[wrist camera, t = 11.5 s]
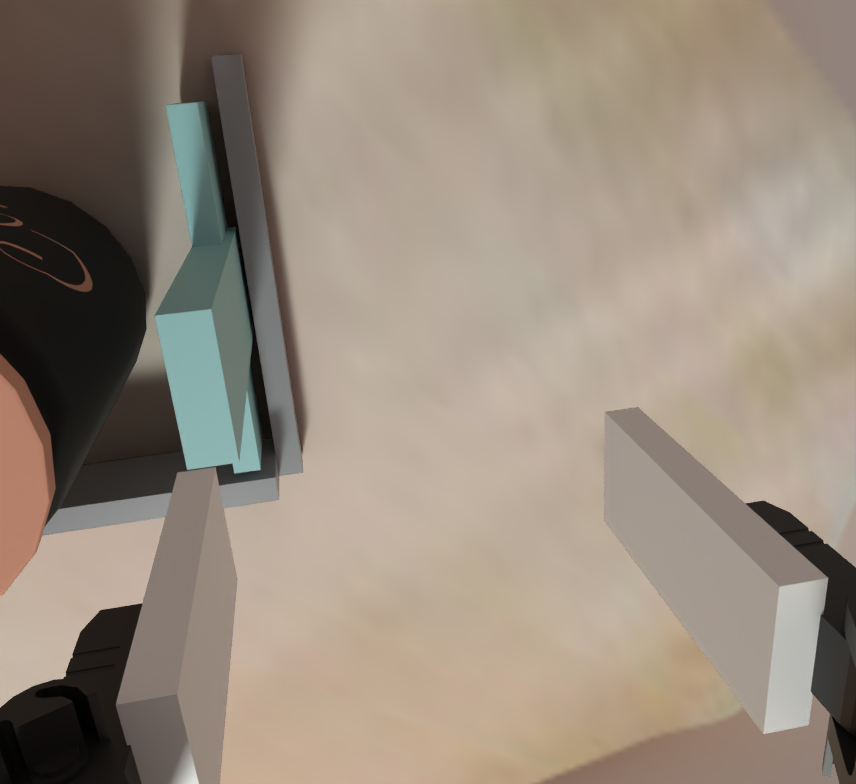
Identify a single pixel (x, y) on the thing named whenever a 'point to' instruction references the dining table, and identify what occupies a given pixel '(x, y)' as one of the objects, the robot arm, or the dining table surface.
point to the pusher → (208, 314)
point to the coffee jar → (56, 356)
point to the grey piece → (155, 475)
